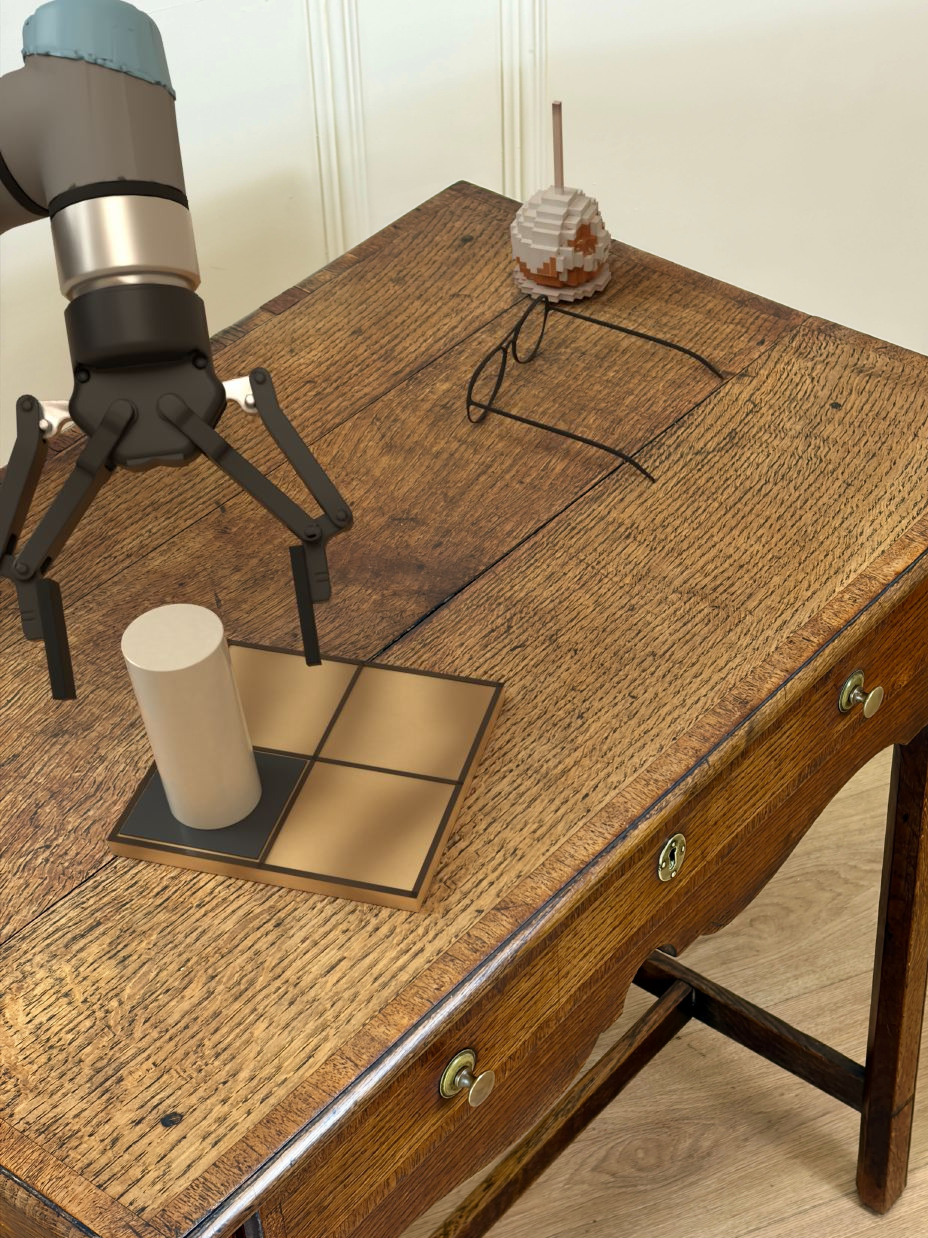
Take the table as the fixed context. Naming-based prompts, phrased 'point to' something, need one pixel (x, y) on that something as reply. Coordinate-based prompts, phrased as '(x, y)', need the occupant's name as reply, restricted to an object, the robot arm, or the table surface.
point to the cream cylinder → (193, 714)
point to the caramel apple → (560, 237)
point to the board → (334, 778)
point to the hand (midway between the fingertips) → (190, 682)
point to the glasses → (514, 341)
